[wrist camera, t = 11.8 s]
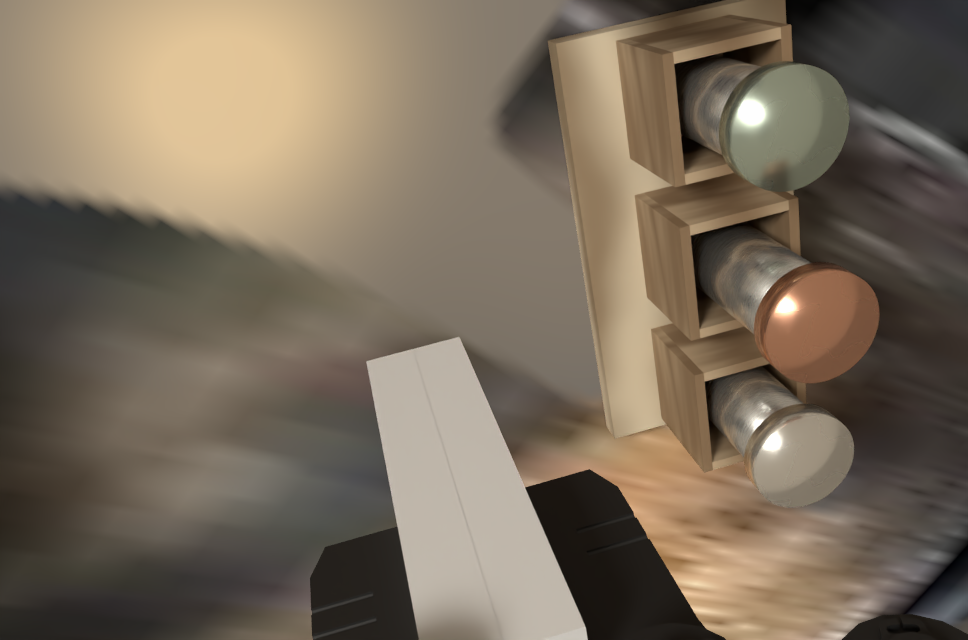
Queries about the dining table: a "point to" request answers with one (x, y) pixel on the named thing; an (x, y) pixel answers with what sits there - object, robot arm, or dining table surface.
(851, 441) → the cream plunger
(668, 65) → the beige boxy slotted piece
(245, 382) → the dining table surface
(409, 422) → the robot arm
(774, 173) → the sage plunger
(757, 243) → the terracotta plunger
